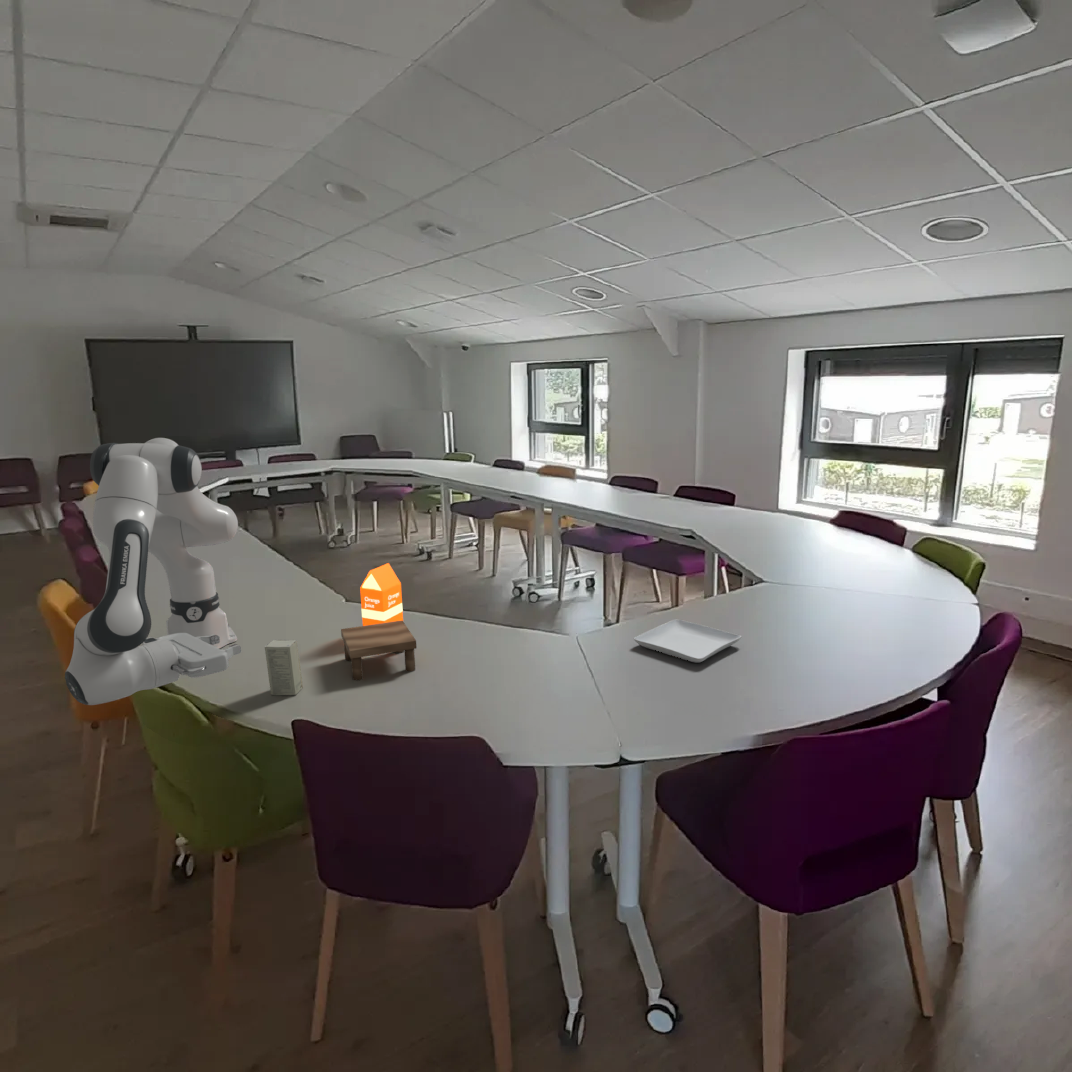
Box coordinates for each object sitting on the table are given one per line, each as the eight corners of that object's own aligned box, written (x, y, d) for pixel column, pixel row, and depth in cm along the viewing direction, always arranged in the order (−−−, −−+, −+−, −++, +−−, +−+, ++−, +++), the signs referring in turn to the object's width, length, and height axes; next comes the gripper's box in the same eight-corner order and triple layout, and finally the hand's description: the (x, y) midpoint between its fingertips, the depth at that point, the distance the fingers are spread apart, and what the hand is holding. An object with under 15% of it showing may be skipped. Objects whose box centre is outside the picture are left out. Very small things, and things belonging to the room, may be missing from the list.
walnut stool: (343, 657, 184) (340, 629, 183) (403, 648, 190) (402, 620, 188) (352, 682, 170) (349, 650, 168) (417, 670, 176) (416, 640, 174)
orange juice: (404, 631, 203) (400, 564, 199) (385, 641, 195) (381, 572, 191) (382, 627, 206) (377, 561, 202) (362, 637, 199) (357, 569, 194)
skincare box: (303, 687, 167) (298, 639, 164) (295, 696, 163) (290, 646, 160) (277, 687, 168) (272, 639, 165) (269, 695, 163) (263, 646, 161)
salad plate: (631, 648, 189) (631, 636, 188) (675, 628, 204) (676, 617, 203) (699, 671, 175) (700, 658, 174) (742, 647, 189) (743, 635, 189)
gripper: (182, 660, 135) (251, 639, 145) (139, 637, 148) (205, 619, 158) (186, 690, 136) (254, 668, 147) (143, 665, 149) (208, 646, 160)
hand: (228, 643), depth 153 cm, fingers open, 8 cm apart
